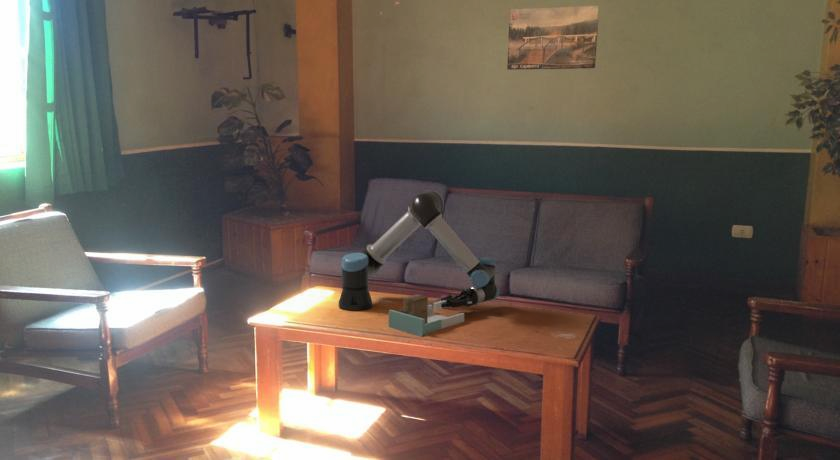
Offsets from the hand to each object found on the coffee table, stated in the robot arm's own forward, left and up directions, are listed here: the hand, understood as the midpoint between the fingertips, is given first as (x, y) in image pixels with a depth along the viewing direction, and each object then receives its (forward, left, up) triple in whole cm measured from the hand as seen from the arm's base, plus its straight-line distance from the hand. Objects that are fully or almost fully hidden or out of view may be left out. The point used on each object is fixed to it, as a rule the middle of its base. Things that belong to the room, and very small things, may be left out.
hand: (434, 306), depth 296 cm
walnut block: (-1, -11, -6) cm, 12 cm away
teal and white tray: (0, -4, -7) cm, 8 cm away
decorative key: (-18, +15, -8) cm, 24 cm away
